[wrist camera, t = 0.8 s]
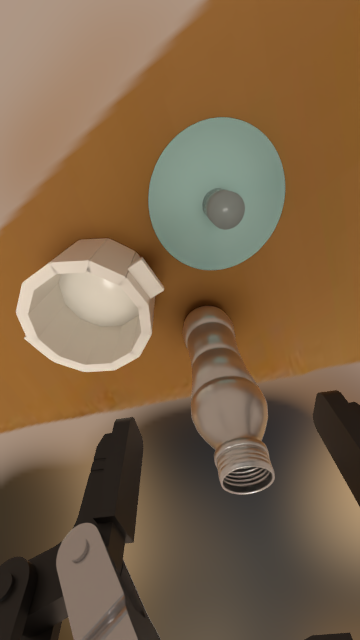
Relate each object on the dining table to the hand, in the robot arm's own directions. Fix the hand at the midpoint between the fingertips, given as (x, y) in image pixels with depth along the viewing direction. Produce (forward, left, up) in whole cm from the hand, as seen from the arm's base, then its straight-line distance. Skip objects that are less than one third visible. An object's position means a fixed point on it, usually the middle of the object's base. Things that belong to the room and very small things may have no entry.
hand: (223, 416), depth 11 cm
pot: (+10, -3, -21) cm, 24 cm away
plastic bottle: (+2, +8, -21) cm, 23 cm away
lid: (-6, -4, -21) cm, 23 cm away
